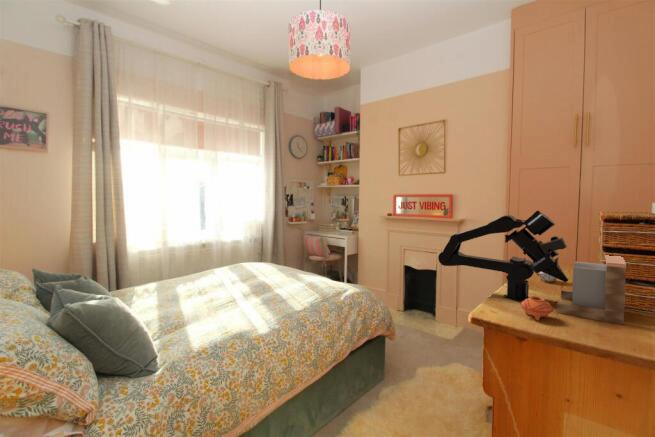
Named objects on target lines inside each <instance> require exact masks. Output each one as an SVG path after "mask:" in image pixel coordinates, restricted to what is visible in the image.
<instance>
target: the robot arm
mask: <svg viewBox="0 0 655 437" xmlns="http://www.w3.org/2000/svg"><path fill="white" fill-rule="evenodd" d="M555 225H556V224H555V222H554V221H553V220H552V219H551V218H550V217H549V216H548V215H546V214H544V213H543V212H541V211H540V210H536V211H535V212H534V213H533V214H532V215H530V216H529V217H528V218H526V219H525V220H524V219H519V218H516V217H515V216H513V215H511V214H506V215H501V216H500V217H497V218H496V219H494V220H493V221H490V222H488V223H487V224H484V225H482V226H479V227H475V228H474V227H473V228H471V229H469V230H465V231H462V232H459V233H453V234H452V235H451V236H450V238H449V240H448V242H447V243H446V245H445V246H444V248H443V251H441V252H440V253H439V254H438V258H437V260H438V262H439V263H440V265H442V266H443V267H456V266H457V267H459V266H463V267H464V266H466V267H469V268H470V267H471V268H477V269H483V270H490V271H495V272H502V273H503V274H504V273H505V274H507V275H506V280H507V281H506V284H507V287H506V288H507V289H506V290H507V291H506V294H503V295H502V296H503V297H504V296H505V298H508V299H511V300H512V301H513V300H514V301H515V302H516V301H517V302H523V301H524V300H525V299H527V298H530V297H531V296H529V290H530V289H529V288H530V287H529V286H530V285H529V279H530V278H531V277H532V276H533V275H534V274H536V275H537V274H539V272H543V273H546V274H548V275H550V276H553V277H555V278H557V279H558V280H560V281H562V282H565V283H567V282H568V281H569V278H568V277H567V276H566V274H565V272H564V271H563V269H562V268H561V266H560V265H559V257H557V258H555V257H556V256H559V255H560V253H559V252H558V251H559V250H563V249H564V250H565V249H566V248H567V247H568V246H567V244H566V241H565V239H564V238H563V237H558V236H557V235H554V236H551V237H550V240H549V241H546V242H543V241H542V240H538V239H536V237H535V236H536V235H538V236H542V235H543V234H544V233H546V232H547V231H549V230H550V229H551V228H552V227H554V226H555ZM523 226H524V227H523ZM521 227H523V228H522V229H520V228H521ZM518 228H519V229H520V230H518ZM513 230H514V231H513ZM509 232H511V233H510V234H508V233H509ZM500 233H502V234H503V233H507V234H505V235H504V239H505V240H504V243H506V244H507V243H508V242H510V241H512V242H513V243H514V244H515V245H516V246H517V247H518V248H519V249H521V251H522V254H524V256H527V257H529V258H530V259H531V260H532V261H531V260H529V259H527V258H526V257H518V256H515V255H514V256H512V257H511V258H509V260H501V259H497V258H491V257H483V256H477V255H476V256H475V255H469V254H465V253H463V252H460V249H461V246H462V243H464V242H468V241H471V240H473V239H477V238H481V237H484V236H486V235H492V234H493V235H494V234H500ZM554 258H555V259H554ZM557 279H556V280H557Z"/></svg>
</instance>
